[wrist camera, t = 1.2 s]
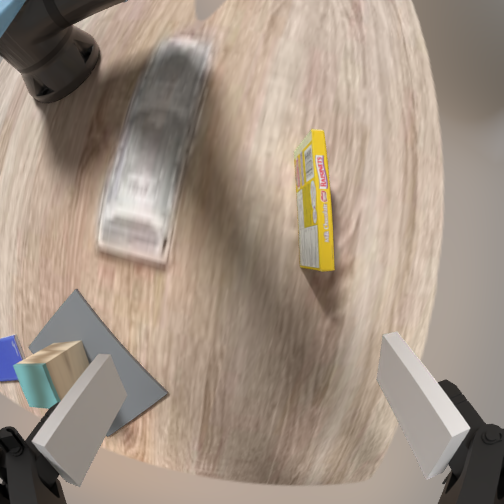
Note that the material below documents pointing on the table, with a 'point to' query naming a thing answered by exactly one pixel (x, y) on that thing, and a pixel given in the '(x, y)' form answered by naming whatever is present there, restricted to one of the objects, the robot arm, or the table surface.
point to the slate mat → (101, 342)
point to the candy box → (314, 203)
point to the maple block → (51, 372)
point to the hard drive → (10, 357)
